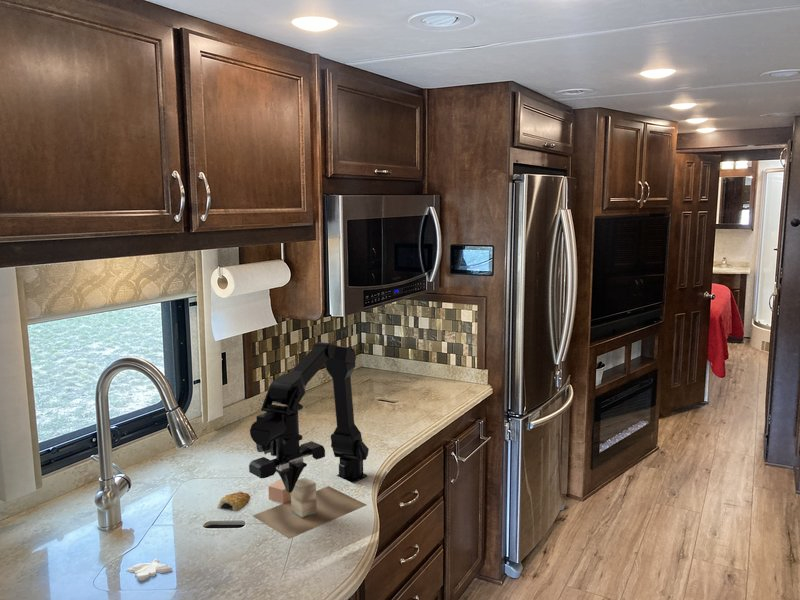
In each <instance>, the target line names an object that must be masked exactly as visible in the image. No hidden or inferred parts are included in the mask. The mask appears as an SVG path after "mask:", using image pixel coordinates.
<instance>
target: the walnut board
mask: <svg viewBox="0 0 800 600" xmlns="http://www.w3.org/2000/svg"><path fill="white" fill-rule="evenodd" d="M316 505H317V513H315V514H312V515H310V516H308V517H305V518H303V519H301V518H300V517H298V516H296V515H294V514H293V513H291V500H289V501H287V502H285V503H284V504H283V503H280V504H279V505H276V506H273V507H270V508H269V509H266V510H264V511H261V512H258V513H256V514H253V515H252V517H254V518H255V519H257V520H258V521H260V522H261V523H263V524H265V525H266V526H268V527H269V528H271V529H272V530H274V531H276V532H278V533H279V534H281V535H282V536H284V537H285V538H287V539H292V538H294V537H297V536H299V535H301V534H304V533H305V532H308V531H311V530H313V529H315V528H317V527H319V526H323V525H324V524H327V523H329V522H331V521H333V520H336V519H338V518H340V517H342V516H345V515H347V514H349V513H352V512H354V511H356V510H358V509H361V508H363V507H365V506H367V503H364V502H362V501H360V500H358V499H356V498H354V497H352V496H350V495H348V494H346V493H344V492H342V491H340V490H337V489H336V488H333V487H331V486H329V485H327V486H324V487H322V488H320V489H316Z"/></svg>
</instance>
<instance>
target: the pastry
mask: <svg viewBox="0 0 800 600" xmlns="http://www.w3.org/2000/svg"><path fill="white" fill-rule="evenodd" d="M250 498H251V496H250V494H249V493H246V492H243V491H238V492H233V493H230V494H226V495H224V497H222V498H221V499H220V500H219V503H218V505H217V506H216V508H217V509H221V510H222V509H223V510H224V509H227V510H228V509H229V510H230V509H232V511H238V510H240V509H242V508H243V507H245V506H247V504H248V502H249V499H250Z"/></svg>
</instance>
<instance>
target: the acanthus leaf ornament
mask: <svg viewBox="0 0 800 600" xmlns="http://www.w3.org/2000/svg"><path fill="white" fill-rule="evenodd" d="M172 571H173V567H171V566H168V564H164V563H160V560H159V558H154V559H153V560H152V562H149V563H137V564H134V565H132V567H128V568H127V569H126V572H129V573H131V572H135V573H134V575H135V576H136V577H135V578H137V579H138V581H140V582H142V580H143V581H145V580H148V579H149V578H150V577H149V576H153V577H154V575H155V576H157V573H159V574H165V573H170V572H172ZM148 577H149V578H148Z"/></svg>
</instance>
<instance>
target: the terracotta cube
mask: <svg viewBox="0 0 800 600" xmlns="http://www.w3.org/2000/svg"><path fill="white" fill-rule="evenodd" d="M267 490H268V500H270V501H273V502H277V503H280V504H284V503H286V502H289V501H291V492H290V493H288V492H287V490H286V488H285V486H284V483H283V481H282V479H281V478H280V479H278V480H277V481H275V482H273V483H271V484H269V485H268V489H267Z"/></svg>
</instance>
